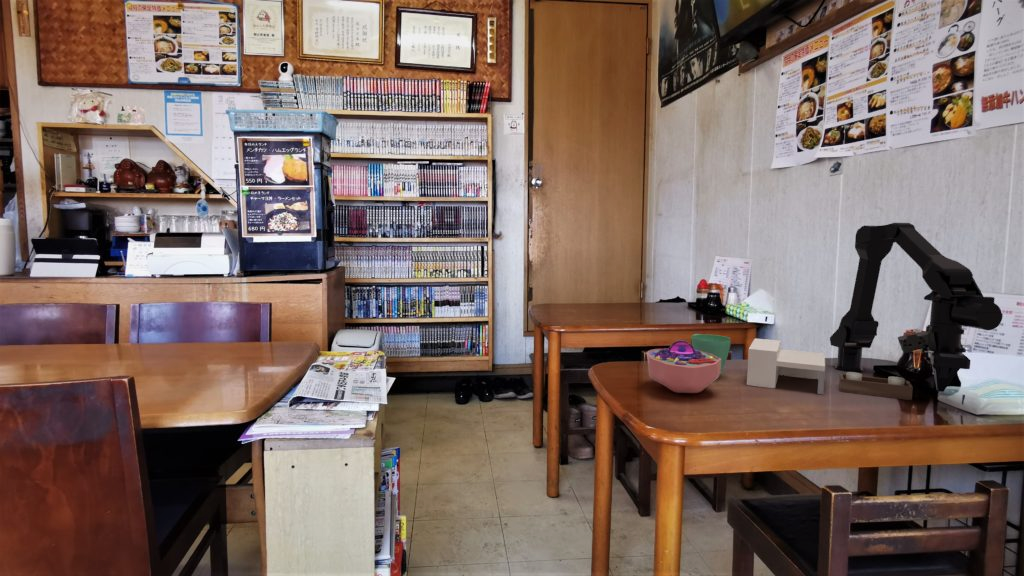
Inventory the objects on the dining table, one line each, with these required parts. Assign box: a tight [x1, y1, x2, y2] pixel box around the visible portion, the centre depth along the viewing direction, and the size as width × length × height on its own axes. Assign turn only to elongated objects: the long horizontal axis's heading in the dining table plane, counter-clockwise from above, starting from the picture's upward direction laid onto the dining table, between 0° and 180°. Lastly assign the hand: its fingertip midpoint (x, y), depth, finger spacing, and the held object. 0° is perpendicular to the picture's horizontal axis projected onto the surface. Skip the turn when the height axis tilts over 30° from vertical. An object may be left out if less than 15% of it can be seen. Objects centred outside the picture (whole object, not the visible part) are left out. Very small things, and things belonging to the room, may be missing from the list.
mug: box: [690, 333, 732, 377], centre depth 149 cm, size 15×10×10 cm
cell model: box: [645, 339, 721, 394], centre depth 132 cm, size 17×20×11 cm
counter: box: [746, 337, 826, 395], centre depth 141 cm, size 16×16×9 cm
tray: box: [838, 371, 914, 401], centre depth 132 cm, size 6×14×4 cm, turn 62°
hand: (940, 391), depth 127 cm, fingers closed
